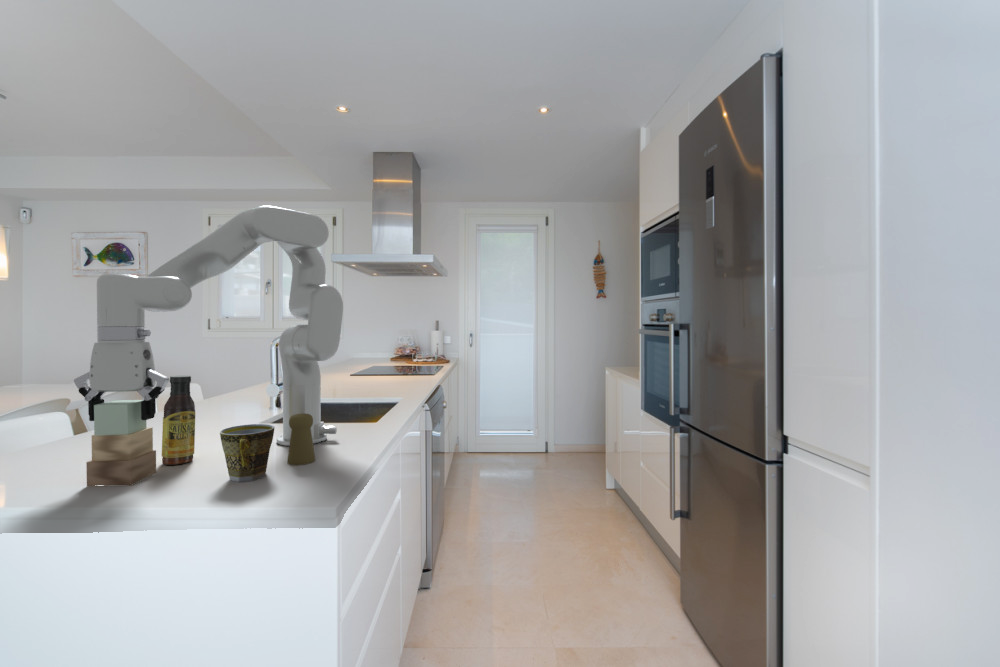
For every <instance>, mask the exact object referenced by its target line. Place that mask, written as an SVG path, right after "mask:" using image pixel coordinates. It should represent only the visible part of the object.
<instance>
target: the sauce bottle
mask: <svg viewBox="0 0 1000 667" xmlns="http://www.w3.org/2000/svg"><path fill="white" fill-rule="evenodd" d="M191 382H192V376H191V375H170V377H169V383H170V392H169V398H168V399H167V401H166V402H165V404H164V405H163V406H164V407H163V417H162V436H161V438H162V439H161V457H162V458H161V459H162V461H161V462H162V464H163V465H165V466H175V465H183V464H186V463H190V462H192V461H193V459H194V454H195V447H196V446H195V441H196V439H195V438H196V437H195V436H196V435H195V434H196V405H195V401H194V400H193V398H192V396H191V390H190V389H191Z"/></svg>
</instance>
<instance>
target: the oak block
mask: <svg viewBox="0 0 1000 667" xmlns="http://www.w3.org/2000/svg"><path fill="white" fill-rule="evenodd" d="M153 428H154V427H146V429H143V430H140V431H137V432H134V433H131V434H128V435H98V436H94V434H92V435H91V460H92V461H116V460H131V459H134V458H136V457H139V456H141V455H144V454H146V453H149V452H151V451H153V450H154V440H153V439H154V436H153V435H154V434H153V433H154V431H153V430H154V429H153Z"/></svg>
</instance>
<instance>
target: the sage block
mask: <svg viewBox="0 0 1000 667" xmlns="http://www.w3.org/2000/svg"><path fill="white" fill-rule="evenodd" d="M143 400H144V399H126V400H125V399H124V400H123V399H121V400H110V401H107V402H104V403H101V404H97V405H94V421H93V423H94V424H93V425H94V427H93V428H94V432H93V433H94V434H93V435H94V436H98V435H128V434H131V433H134V432H137V431H140V430H143V429H146V428H147V420H142V419H141V401H143Z"/></svg>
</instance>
